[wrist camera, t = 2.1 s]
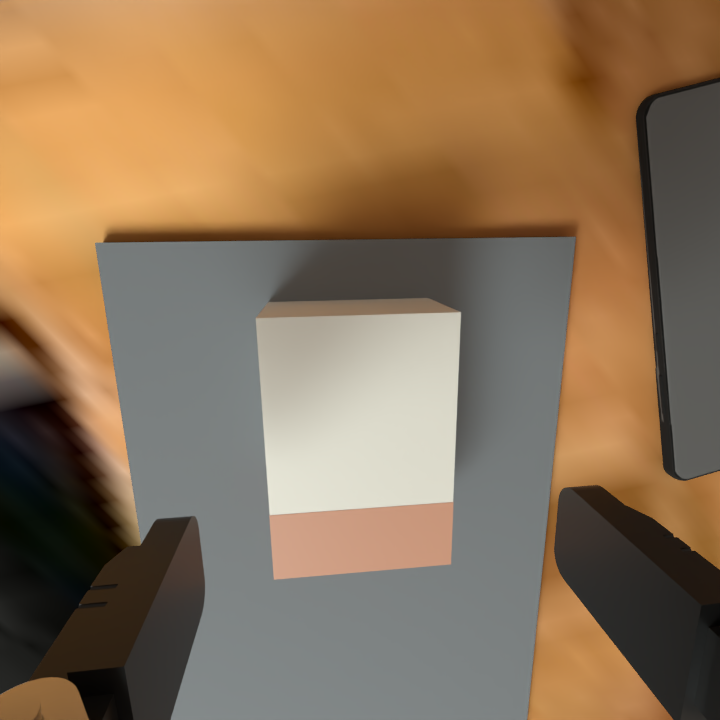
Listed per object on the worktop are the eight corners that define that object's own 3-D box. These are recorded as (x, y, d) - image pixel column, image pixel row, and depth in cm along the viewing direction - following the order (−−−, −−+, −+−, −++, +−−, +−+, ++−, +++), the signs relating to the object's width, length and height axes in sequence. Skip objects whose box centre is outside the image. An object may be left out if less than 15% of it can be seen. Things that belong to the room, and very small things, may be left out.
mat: (101, 242, 15) (95, 242, 14) (567, 237, 16) (575, 236, 16) (183, 785, 21) (180, 798, 20) (519, 741, 22) (523, 752, 22)
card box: (267, 301, 15) (255, 318, 12) (428, 297, 16) (461, 312, 12) (281, 512, 17) (274, 579, 14) (423, 501, 18) (450, 564, 14)
